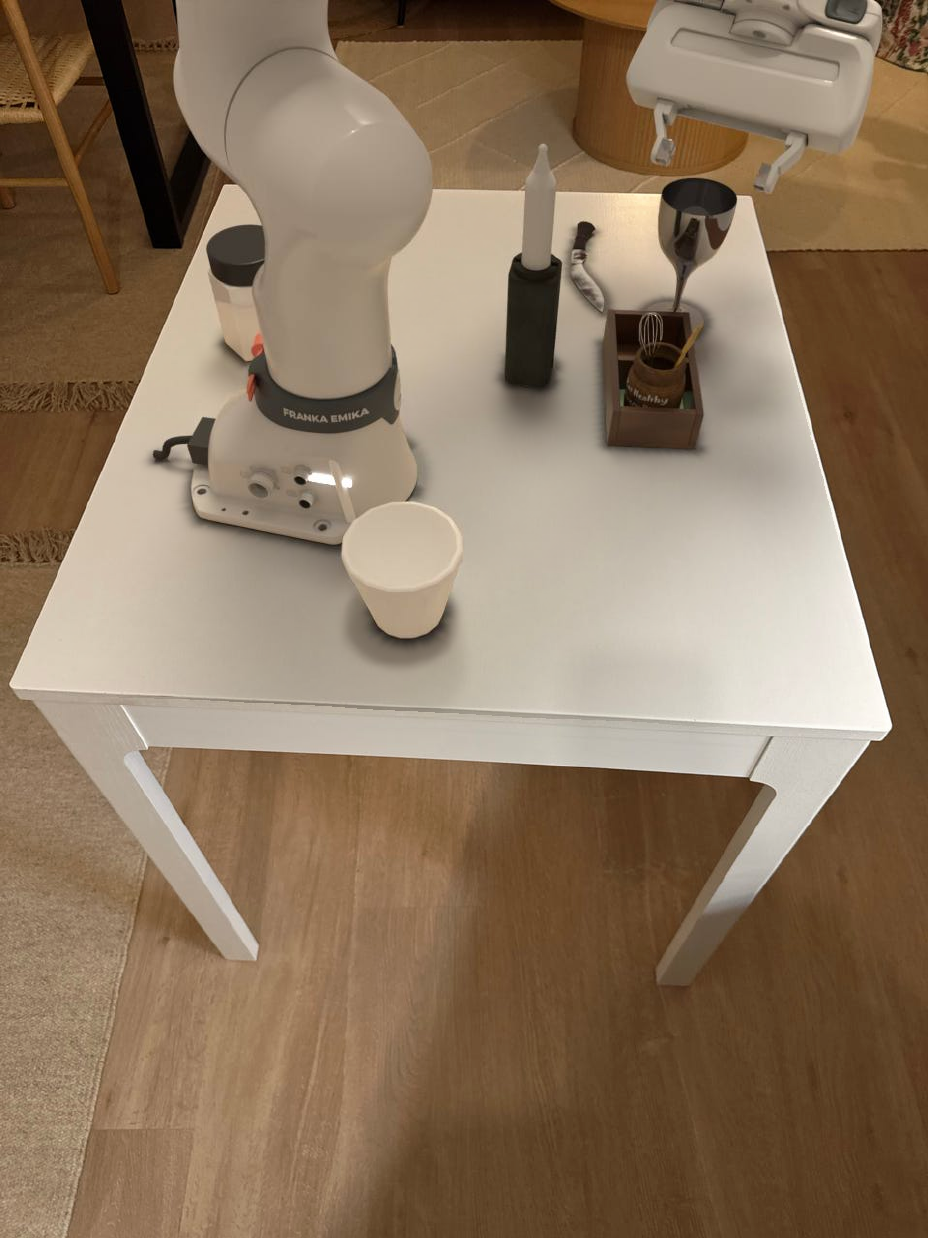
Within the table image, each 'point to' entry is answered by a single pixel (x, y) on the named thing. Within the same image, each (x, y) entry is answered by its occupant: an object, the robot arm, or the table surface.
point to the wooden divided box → (618, 359)
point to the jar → (236, 283)
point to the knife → (577, 270)
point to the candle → (534, 285)
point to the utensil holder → (657, 373)
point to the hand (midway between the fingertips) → (709, 175)
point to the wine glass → (692, 231)
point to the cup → (403, 565)
